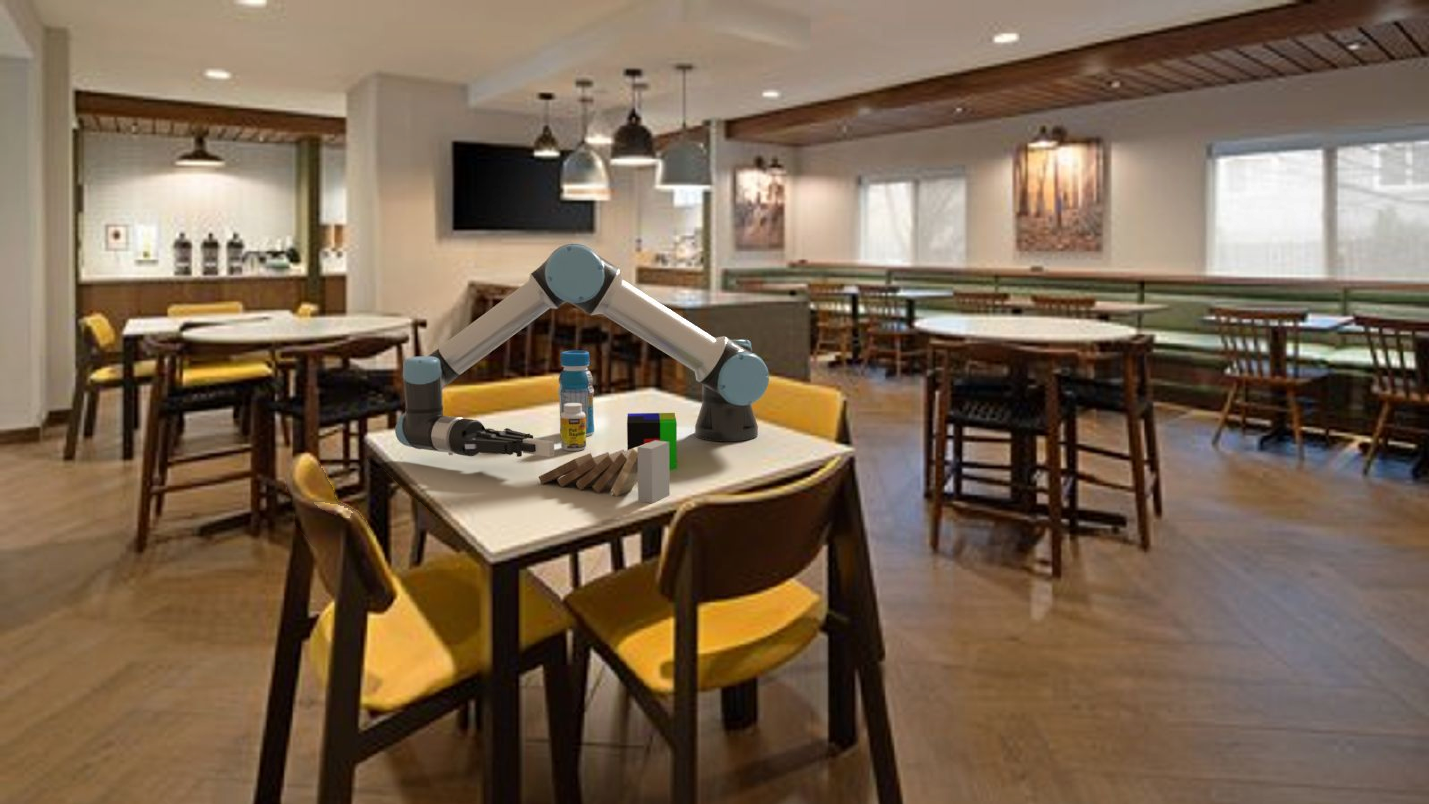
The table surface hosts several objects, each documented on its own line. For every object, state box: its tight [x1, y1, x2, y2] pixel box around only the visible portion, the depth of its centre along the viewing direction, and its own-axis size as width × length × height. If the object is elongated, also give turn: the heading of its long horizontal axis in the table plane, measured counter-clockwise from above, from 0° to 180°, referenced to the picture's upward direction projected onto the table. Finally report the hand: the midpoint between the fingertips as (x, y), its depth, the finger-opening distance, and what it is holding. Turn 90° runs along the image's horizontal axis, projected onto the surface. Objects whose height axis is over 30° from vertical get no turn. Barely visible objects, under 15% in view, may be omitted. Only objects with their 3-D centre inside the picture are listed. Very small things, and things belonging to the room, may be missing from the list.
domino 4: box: [592, 447, 636, 494], centre depth 163 cm, size 2×5×10 cm
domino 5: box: [610, 443, 647, 497], centre depth 162 cm, size 2×5×10 cm
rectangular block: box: [637, 440, 671, 504], centre depth 159 cm, size 3×6×10 cm, turn 152°
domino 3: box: [575, 449, 626, 491], centre depth 165 cm, size 2×5×10 cm
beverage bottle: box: [557, 350, 595, 437], centre depth 210 cm, size 8×8×20 cm
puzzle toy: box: [626, 412, 678, 471], centre depth 184 cm, size 10×10×10 cm
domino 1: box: [538, 453, 593, 485], centre depth 169 cm, size 2×5×10 cm
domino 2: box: [556, 451, 611, 488], centre depth 167 cm, size 2×5×10 cm
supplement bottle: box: [560, 403, 587, 452], centre depth 197 cm, size 6×6×10 cm
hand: (551, 449), depth 170 cm, fingers closed
